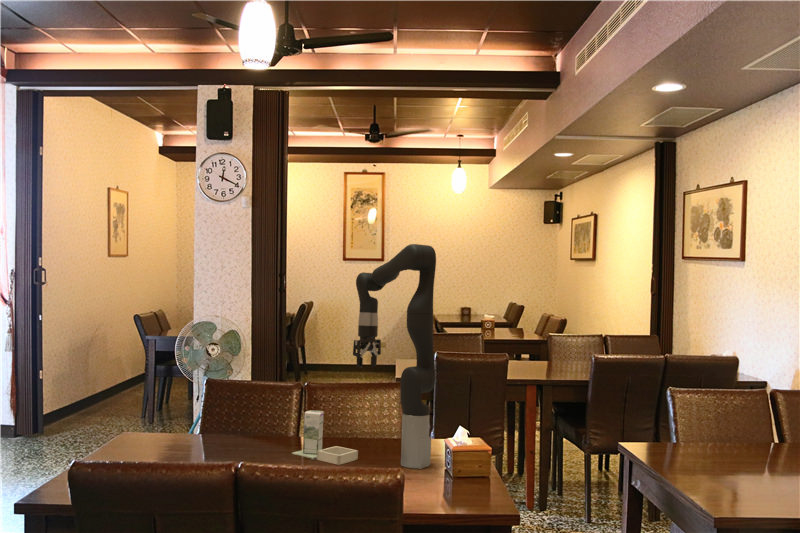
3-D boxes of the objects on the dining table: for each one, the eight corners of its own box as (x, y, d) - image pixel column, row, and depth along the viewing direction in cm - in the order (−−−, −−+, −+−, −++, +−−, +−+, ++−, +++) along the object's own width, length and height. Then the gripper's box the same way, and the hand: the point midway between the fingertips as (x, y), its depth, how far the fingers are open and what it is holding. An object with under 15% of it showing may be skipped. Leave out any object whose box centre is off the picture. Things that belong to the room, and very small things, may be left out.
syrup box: (322, 451, 221) (324, 410, 222) (318, 455, 215) (319, 413, 216) (307, 450, 222) (308, 409, 222) (302, 453, 216) (304, 412, 217)
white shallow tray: (360, 458, 214) (361, 449, 214) (335, 465, 203) (336, 456, 203) (314, 448, 226) (314, 440, 227) (288, 454, 216) (289, 446, 216)
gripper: (364, 325, 228) (362, 368, 227) (386, 324, 239) (385, 366, 238) (348, 324, 232) (347, 367, 231) (371, 324, 244) (370, 365, 243)
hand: (366, 366), depth 235 cm, fingers open, 8 cm apart
